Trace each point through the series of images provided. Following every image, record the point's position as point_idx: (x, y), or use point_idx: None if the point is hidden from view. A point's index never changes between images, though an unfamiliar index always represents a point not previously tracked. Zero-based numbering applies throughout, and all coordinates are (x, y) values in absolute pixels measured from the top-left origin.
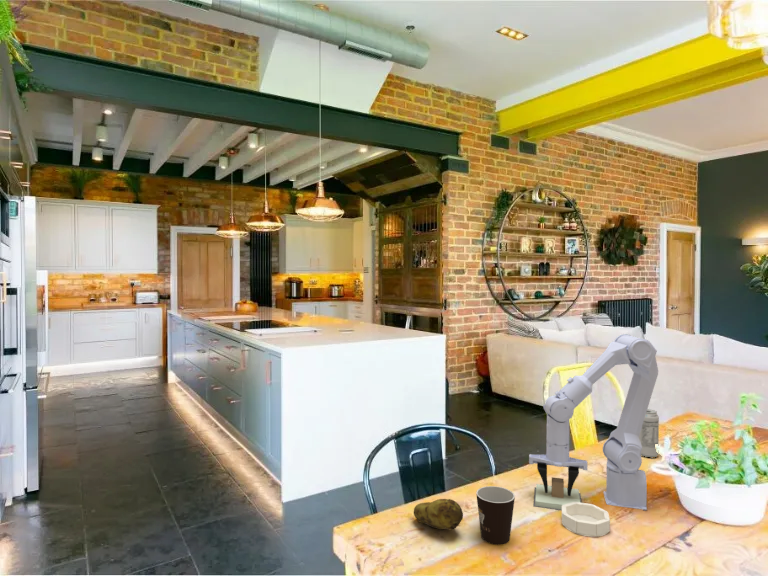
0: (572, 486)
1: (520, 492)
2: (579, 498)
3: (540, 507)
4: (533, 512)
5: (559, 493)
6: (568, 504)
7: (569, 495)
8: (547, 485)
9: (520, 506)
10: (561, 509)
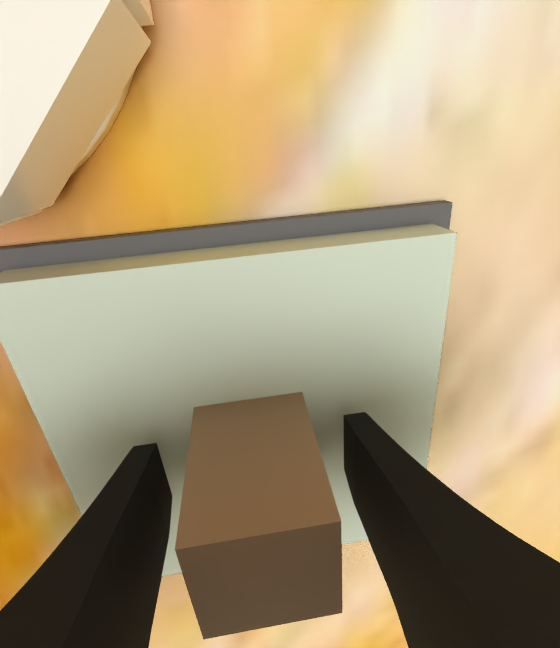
0: (63, 540)
1: (509, 418)
2: (59, 461)
3: (387, 207)
4: (449, 96)
5: (232, 428)
6: (25, 84)
7: (138, 448)
8: (361, 494)
9: (552, 183)
10: (193, 246)
